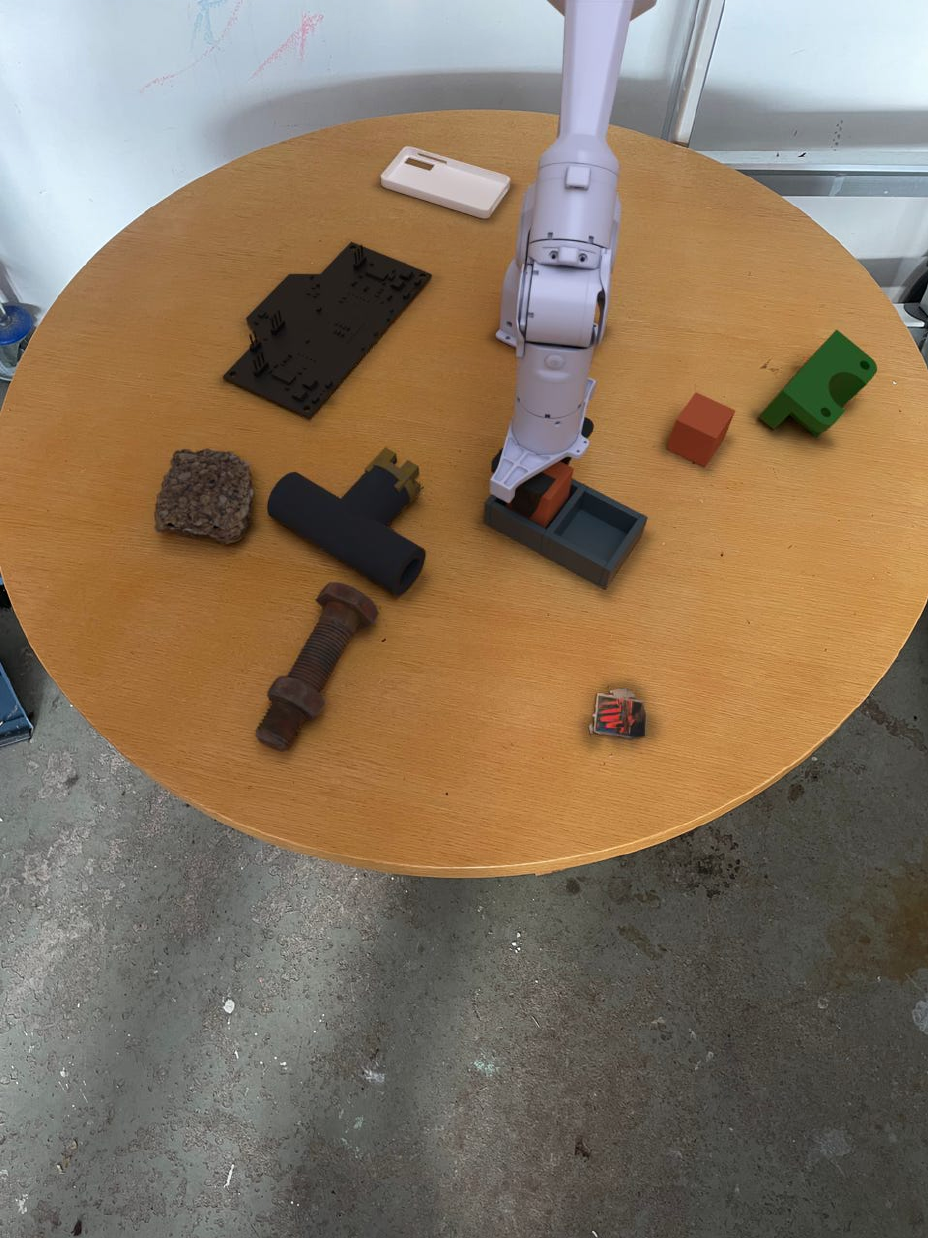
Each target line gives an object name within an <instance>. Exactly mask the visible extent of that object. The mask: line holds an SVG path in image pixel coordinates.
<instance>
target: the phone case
mask: <svg viewBox="0 0 928 1238" xmlns="http://www.w3.org/2000/svg"><path fill="white" fill-rule="evenodd" d="M419 154H421V155H419ZM426 156H428V157H426ZM430 157H431V158H430ZM433 158H435V159H433ZM409 159H411V160H414V161H417V162H421V163H424V164H427V165H431V166H433V167H432V168H431V169H430V170H428V169H425V168H421V167H418V166H415V165H412V164H409V163H406V162H407V161H408V160H409ZM439 160H440V161H439ZM380 183H381V184H380V185H381V186H382V187H383V188H384V189H387V190H391V191H394V192H397V193H400V194H403V195H407V196H409V197H412V198H415V199H419V200H422V201H426V202H428V203H431V204H435V205H438V206H441V207H443V208H444V207H445V208H447V209H450V210H454V211H457V212H460V213H463V214H466V215H470V216H473V217H476V218H478V219H483V220H484V219H487V220H488V219H489V218H491V216H492V214H494V211H495V210H496V209H497V208H498V206H499V205H500V203H501V202H502V200H503V199H504V197H505V196H506V195H507V193H508V191H509V190H510V189H511V177H510V176H508V175H506V174H504V173H499V172H496V171H493V170H490V169H486V168H483V167H481V166H477V165H473V164H470V163H467V162H463V161H460V160H457V159H453V158H451V157H448V156H447V157H446V156H443V155H441V154H437V153H434V152H431V151H427V150H423V149H421V148H416V147H414V146H410V145H409V146H407V145H405V146H404V147H403V148H402V149H401V150H400V151H399V152H398V153H397V155H396V156H395V157H394V158H393V160H392V161H391V162H390V163H389V164H388V166H387V167H386V168H385V169H384V171H383V172H381V174H380Z"/></svg>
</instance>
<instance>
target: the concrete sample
mask: <svg viewBox="0 0 928 1238" xmlns="http://www.w3.org/2000/svg"><path fill="white" fill-rule="evenodd" d="M170 466H171V467H170V468H169V469H168V472H167V473H166V474H164V475H163V476H162V479H163V481H162V482H161V484H160V486H161V489H160V490H159V492H158V493H157V494H156V502H155V505H154V506H155V510H154V513H153V515H154V521H155V525H154V526H153V528H154V530H155V532H156V533H160V534H168V533H169V534H170V533H172V532H174V533H178V534H181V536H182V537H188V536H191V538H197V537H201V538H205V539H209V540H210V541H212V542H218V544H220V545H221V546H223V547H224V546H227V545H228V544H232V543H237V542H240V541H241V540H242V539H243V538H244V537H245V535H246V534H247V530H248V529H247V528H248V527H249V525H250V524H251V522H252V521H253V518H252V516H253V512H254V511H253V509H254V505H253V498H254V495H255V490H253V486H252V479H253V478H252V472H251V469H250V462H249V461H248V460H242V459H241V458H240V456H239V455H236V454H235V452H234V451H231V450H229V451H224V450H212V449H210V448H204V449H201V450H197V451H192V449H190V448H183V449H182V448H181V449H180V450H175V451H174V452H173V454H172V458H170Z"/></svg>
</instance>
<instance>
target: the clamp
mask: <svg viewBox="0 0 928 1238" xmlns="http://www.w3.org/2000/svg"><path fill="white" fill-rule="evenodd" d="M877 372H878V366H877V363H876V361H875V360H874V359H873V358H872V357H871V356H870V355H869V354H867V353H866V352H865V351H864V350H862V348H860V347H859V346H858V345H856V344H855V343H854V342H853V341H852V340H850V339H849V337H847V336H846V335H844V334H843V332H841V331H840V330H838V329H837V328H836V330H834V331H833V333H831V334H830V335H829V337H828V338H827V339H826V340H825V341H824V342H823V343H822V344H821V345H820V346H819V347H818V349H817V350H816V351H814V353H813V354H812V355H811V356H810V357H809V358H808V359H807V360H806V361H805V363H803V365H802V366H801V367H800V368H799V370H797V372H796V373H795V374H794V375H793V376H792V377H791V379H789V381H788V382H787V383H786V384H785V385H784V386H783V387H782V389H781V390H780V391H779V392H778V393H777V395H775V397H773V399H772V400H771V401H770V402H769V404H767V406H766V407H765V408H764V409H763V410H762V411H761V412H760V414H759V415H758V417H757V418H760V420H761V421H763V422H764V423H766V425H767V426H769V427H770V428H771V429H772V430H775V429H776V428H777V427H779V425H780V424H781V423H782V422H783V421H784V420H785V419H786V418H787V417H788V416H790V417H792V419H794V420H795V421H796V422H797V423H799V424H800V425H801V426H802V427H803V428H804V429H806V431H808V432H810V433H811V434H812V435H813V436H814V437H815V438H818V437H819V436H820V435H821V434H822V433H825V432H827V431H828V430H829V429H830V428H831V427H832V426H833V425H835V424H836V423H837V421H838V420H840V418H841V417H842V415H844V413H845V412H846V409H844V408H843V407H844V406H845V405H846V404H848V403H849V402H850V401H851V400H852V399H853V398H854V397H855V396H856V395H857V394H858V393H859V392H860V391H862V390H863V389H864V388H865V387H866V386H867V385H868V384H869V382H870V381H871V380H872V379H873V378H874V377H875V375H876V374H877Z"/></svg>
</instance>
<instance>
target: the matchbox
mask: <svg viewBox="0 0 928 1238" xmlns="http://www.w3.org/2000/svg"><path fill="white" fill-rule="evenodd" d="M595 697H596V703H595V705H594V707H595V712H594V713H593V714H591V716H592V717H594V724H593V723H592V722H590V724H589V725H588V729H589V733H590V736H591V737H592V736H593V737H594V735H593V733H596V734H598V735H607V736H615V737H619V739H622V738H621V737H623V738H625V739H633V738H643V737H646V733H647V723H648V717H647V712H646V709H645V705H644V701H643V700H638V699H636V694H635V693H634V691H633V690H629V689H628V688H624V687H623V688H616V689H610V690H609V694H605V693H601V692H597V694H596V696H595Z"/></svg>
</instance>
